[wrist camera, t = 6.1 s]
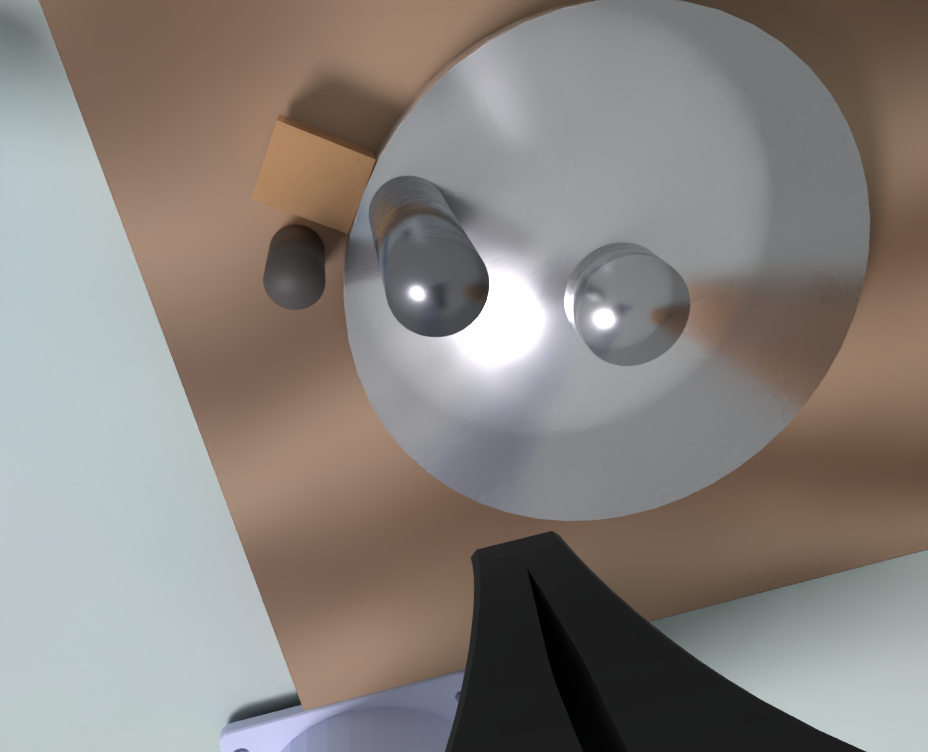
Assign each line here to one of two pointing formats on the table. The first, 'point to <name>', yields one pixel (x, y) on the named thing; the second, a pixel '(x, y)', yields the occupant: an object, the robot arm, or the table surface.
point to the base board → (331, 361)
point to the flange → (593, 254)
